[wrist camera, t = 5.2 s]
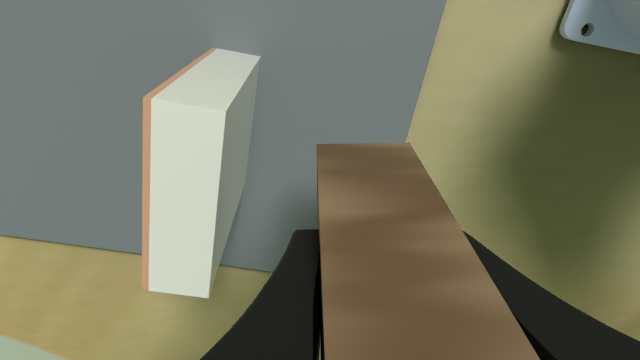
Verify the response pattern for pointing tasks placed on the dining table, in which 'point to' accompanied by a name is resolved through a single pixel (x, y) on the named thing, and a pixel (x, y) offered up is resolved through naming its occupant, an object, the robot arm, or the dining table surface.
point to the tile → (194, 169)
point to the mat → (165, 61)
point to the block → (401, 266)
